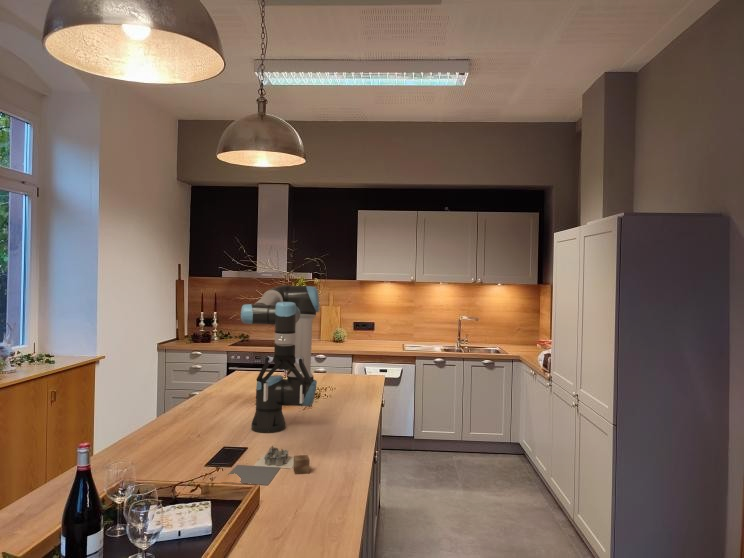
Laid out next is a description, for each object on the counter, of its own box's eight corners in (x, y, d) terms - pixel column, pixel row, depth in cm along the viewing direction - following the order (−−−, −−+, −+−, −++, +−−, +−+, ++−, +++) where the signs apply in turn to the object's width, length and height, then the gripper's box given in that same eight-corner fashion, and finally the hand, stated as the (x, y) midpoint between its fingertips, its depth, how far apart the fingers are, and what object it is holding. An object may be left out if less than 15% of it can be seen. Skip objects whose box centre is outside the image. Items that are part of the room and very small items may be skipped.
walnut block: (294, 474, 184) (295, 460, 184) (293, 469, 188) (293, 455, 188) (309, 473, 185) (309, 459, 185) (307, 468, 190) (307, 454, 190)
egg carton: (271, 455, 201) (272, 445, 201) (290, 457, 200) (291, 446, 200) (261, 465, 191) (262, 453, 191) (281, 466, 190) (282, 455, 190)
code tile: (253, 466, 190) (253, 465, 190) (263, 455, 202) (263, 454, 202) (291, 468, 189) (291, 468, 189) (299, 457, 201) (299, 456, 201)
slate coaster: (220, 482, 175) (220, 481, 175) (237, 465, 191) (237, 464, 191) (267, 485, 173) (267, 484, 173) (280, 467, 189) (280, 467, 189)
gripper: (248, 344, 191) (247, 402, 192) (315, 347, 188) (314, 406, 189) (255, 341, 199) (254, 397, 199) (320, 344, 196) (318, 400, 197)
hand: (283, 401), depth 194 cm, fingers open, 13 cm apart
